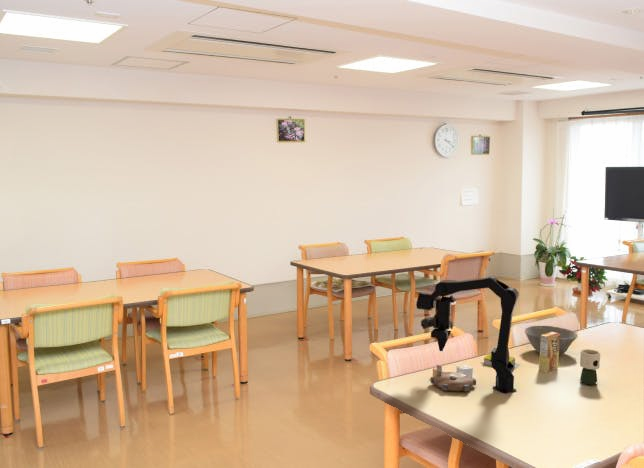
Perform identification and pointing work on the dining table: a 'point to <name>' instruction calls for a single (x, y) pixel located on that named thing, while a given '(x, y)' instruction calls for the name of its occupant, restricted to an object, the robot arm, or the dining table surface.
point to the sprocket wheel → (452, 380)
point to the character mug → (589, 365)
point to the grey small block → (465, 370)
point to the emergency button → (487, 362)
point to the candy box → (549, 351)
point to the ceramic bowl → (537, 331)
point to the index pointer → (434, 371)
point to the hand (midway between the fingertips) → (441, 350)
